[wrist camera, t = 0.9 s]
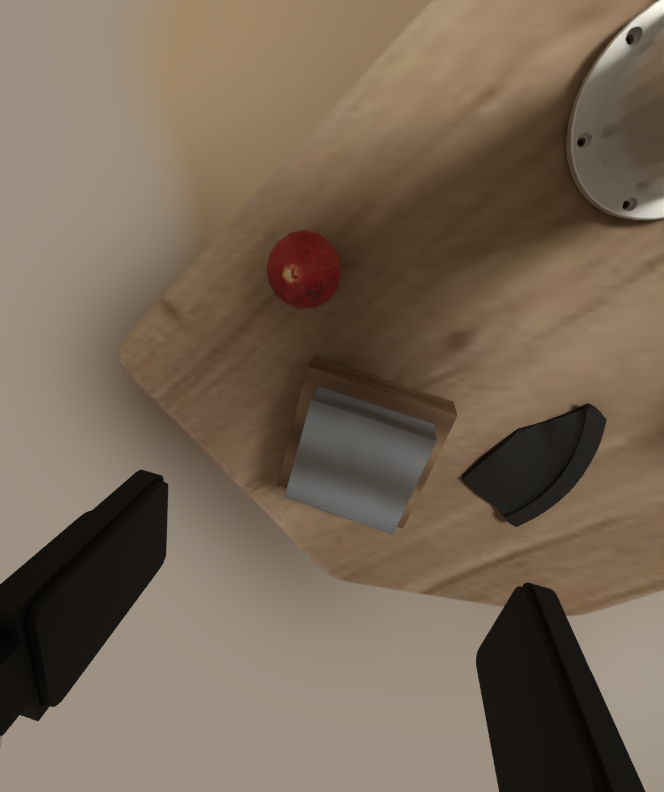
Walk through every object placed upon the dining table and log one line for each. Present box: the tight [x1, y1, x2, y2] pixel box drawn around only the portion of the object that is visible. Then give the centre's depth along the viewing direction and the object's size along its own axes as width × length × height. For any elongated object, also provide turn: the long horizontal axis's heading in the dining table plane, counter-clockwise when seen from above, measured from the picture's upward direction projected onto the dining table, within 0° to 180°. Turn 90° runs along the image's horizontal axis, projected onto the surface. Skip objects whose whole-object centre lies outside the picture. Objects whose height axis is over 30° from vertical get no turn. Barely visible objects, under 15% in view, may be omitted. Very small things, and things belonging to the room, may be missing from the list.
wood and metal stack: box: [277, 357, 457, 535], centre depth 36 cm, size 14×14×6 cm
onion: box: [267, 230, 341, 309], centre depth 29 cm, size 6×6×8 cm
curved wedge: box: [462, 403, 606, 527], centre depth 35 cm, size 8×14×2 cm, turn 141°
